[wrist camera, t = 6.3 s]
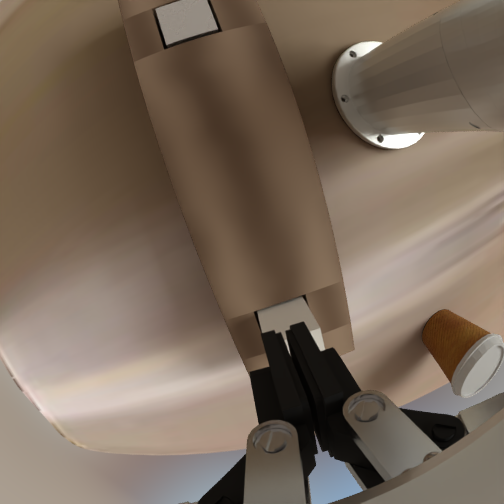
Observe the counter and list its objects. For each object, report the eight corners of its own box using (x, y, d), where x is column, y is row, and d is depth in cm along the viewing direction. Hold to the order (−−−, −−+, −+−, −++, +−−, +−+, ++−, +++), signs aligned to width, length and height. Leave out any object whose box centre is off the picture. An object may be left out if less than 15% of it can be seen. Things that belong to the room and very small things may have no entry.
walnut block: (233, -11, 21) (236, -41, 15) (335, 321, 33) (354, 349, 28) (133, 19, 21) (116, -6, 15) (248, 351, 33) (253, 384, 28)
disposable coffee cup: (404, 355, 37) (446, 407, 25) (427, 298, 34) (482, 342, 23) (444, 351, 38) (485, 393, 27) (466, 300, 35) (516, 336, 24)
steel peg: (206, 20, 21) (204, -7, 16) (218, 52, 23) (217, 28, 18) (166, 33, 21) (155, 8, 16) (176, 65, 23) (166, 44, 18)
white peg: (301, 295, 26) (320, 327, 20) (311, 331, 27) (329, 367, 22) (256, 310, 26) (265, 346, 20) (269, 346, 27) (279, 384, 22)
